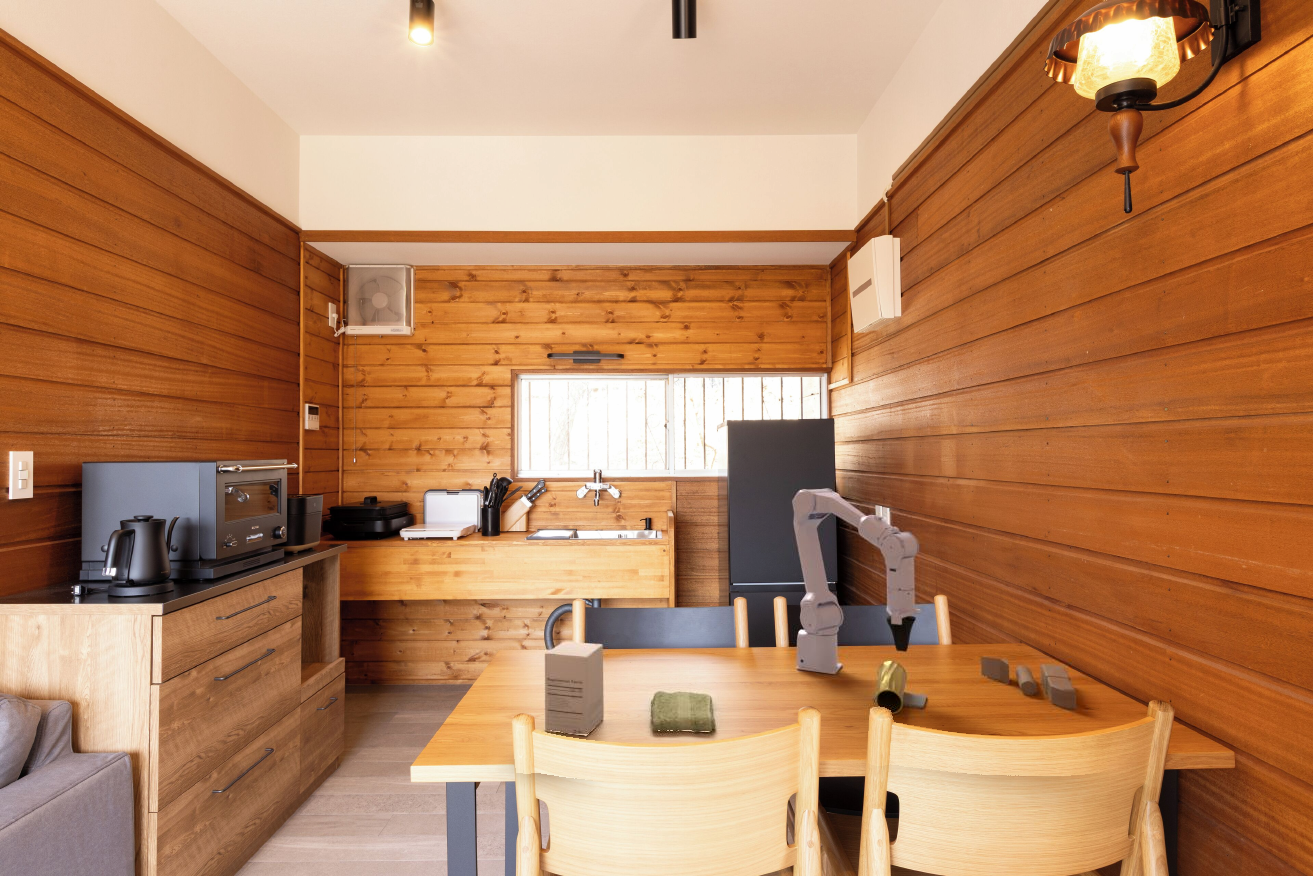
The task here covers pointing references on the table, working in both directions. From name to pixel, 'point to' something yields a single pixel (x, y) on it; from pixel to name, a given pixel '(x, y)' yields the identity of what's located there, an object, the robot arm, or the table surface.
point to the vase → (891, 686)
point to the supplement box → (574, 687)
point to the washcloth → (682, 711)
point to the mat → (912, 700)
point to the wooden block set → (1051, 678)
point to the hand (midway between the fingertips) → (901, 650)
